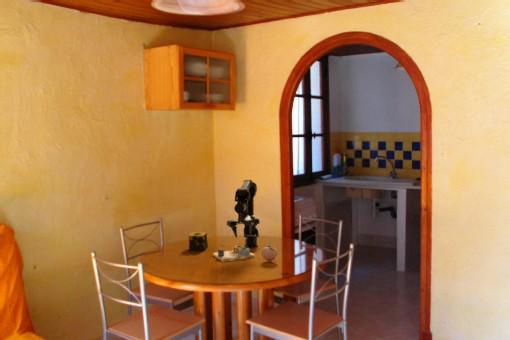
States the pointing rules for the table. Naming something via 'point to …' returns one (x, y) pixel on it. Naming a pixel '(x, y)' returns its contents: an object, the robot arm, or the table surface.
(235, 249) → the gear
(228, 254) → the gear board
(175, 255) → the table surface
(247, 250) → the gear
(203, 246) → the tissue box
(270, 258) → the decorative fruit
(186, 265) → the table surface
